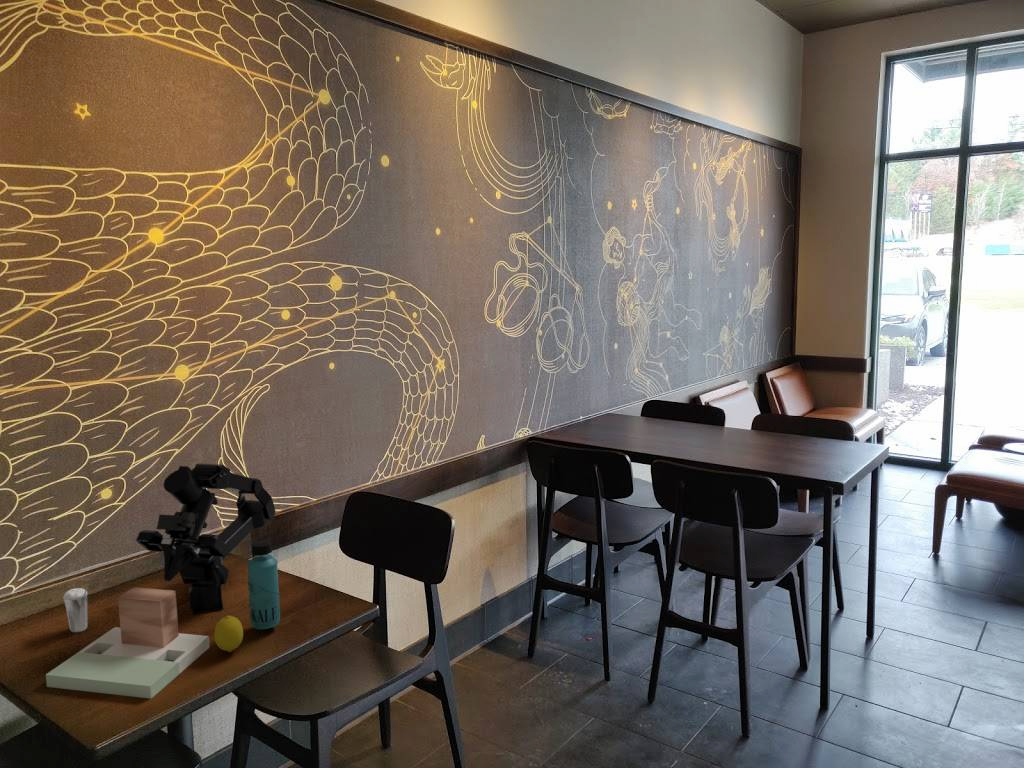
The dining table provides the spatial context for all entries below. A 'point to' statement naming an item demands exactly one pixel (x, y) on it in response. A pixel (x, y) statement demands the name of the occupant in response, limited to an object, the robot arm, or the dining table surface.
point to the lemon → (228, 633)
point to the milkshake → (76, 609)
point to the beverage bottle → (263, 587)
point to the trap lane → (126, 665)
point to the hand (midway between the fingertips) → (166, 580)
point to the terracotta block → (148, 617)
